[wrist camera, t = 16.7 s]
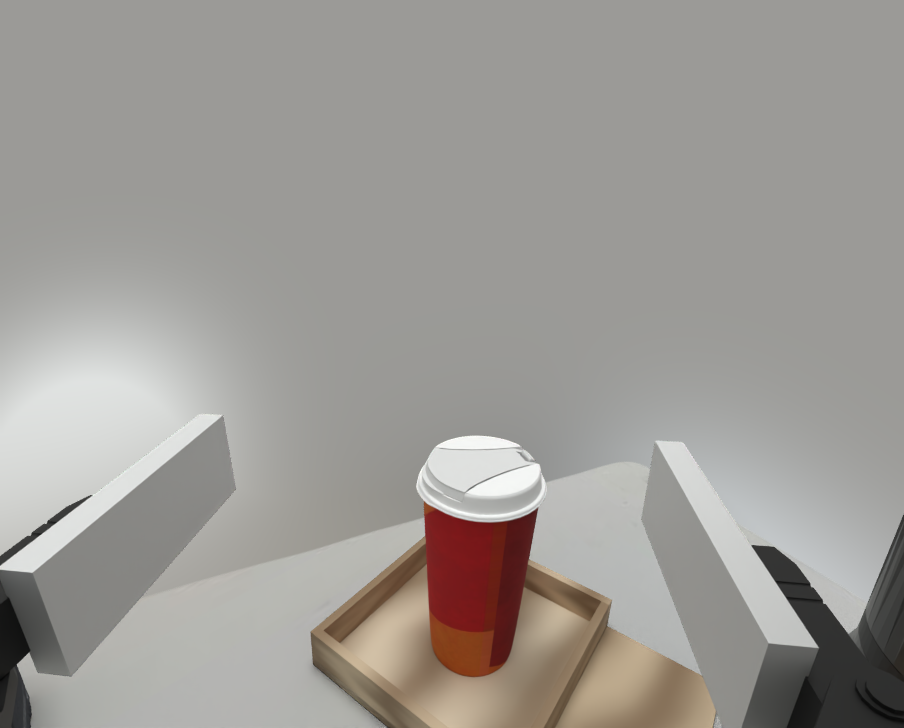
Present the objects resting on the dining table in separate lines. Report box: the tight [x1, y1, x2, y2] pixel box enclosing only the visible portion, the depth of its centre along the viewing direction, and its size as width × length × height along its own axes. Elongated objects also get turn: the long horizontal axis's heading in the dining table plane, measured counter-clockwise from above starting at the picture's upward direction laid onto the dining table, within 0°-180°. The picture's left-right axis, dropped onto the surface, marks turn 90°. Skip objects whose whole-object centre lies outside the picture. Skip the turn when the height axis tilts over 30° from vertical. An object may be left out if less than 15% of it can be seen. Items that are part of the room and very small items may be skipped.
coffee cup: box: [416, 436, 546, 677], centre depth 34 cm, size 8×8×15 cm
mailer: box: [311, 537, 716, 728], centre depth 34 cm, size 24×16×3 cm, turn 54°
